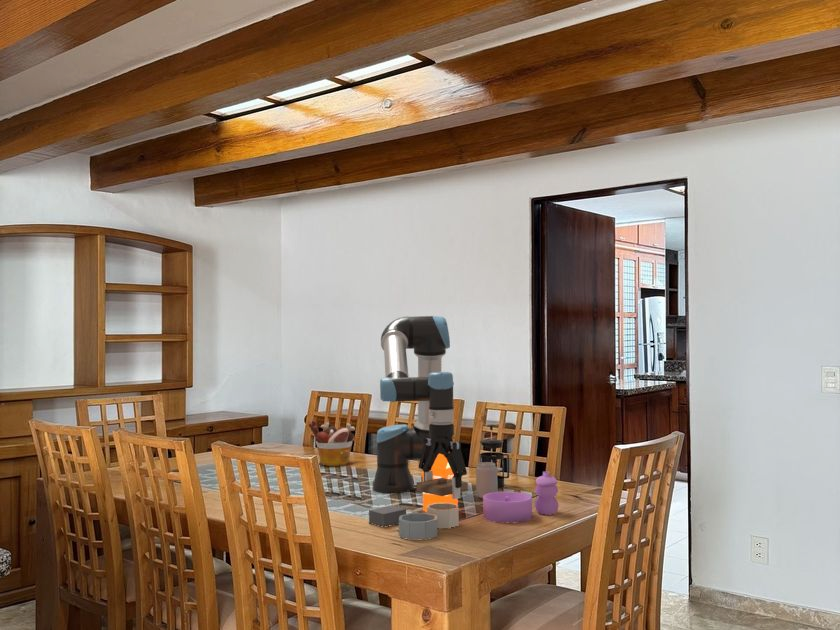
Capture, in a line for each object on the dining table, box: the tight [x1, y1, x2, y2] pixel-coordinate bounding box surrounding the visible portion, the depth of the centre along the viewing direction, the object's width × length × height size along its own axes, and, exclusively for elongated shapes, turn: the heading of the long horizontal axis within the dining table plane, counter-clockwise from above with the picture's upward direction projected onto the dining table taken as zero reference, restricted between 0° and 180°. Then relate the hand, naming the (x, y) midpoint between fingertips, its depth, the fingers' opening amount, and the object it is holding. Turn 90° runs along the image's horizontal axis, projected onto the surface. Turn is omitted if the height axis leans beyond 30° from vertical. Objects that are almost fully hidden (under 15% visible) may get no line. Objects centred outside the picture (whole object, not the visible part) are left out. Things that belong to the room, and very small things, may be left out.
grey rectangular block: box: [368, 505, 407, 528], centre depth 238 cm, size 7×9×4 cm
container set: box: [482, 471, 560, 524], centre depth 245 cm, size 25×15×13 cm, turn 108°
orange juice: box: [422, 452, 459, 513], centre depth 253 cm, size 8×9×20 cm
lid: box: [416, 478, 469, 496], centre depth 235 cm, size 11×11×4 cm
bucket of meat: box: [308, 419, 356, 467], centre depth 341 cm, size 20×16×20 cm
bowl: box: [426, 503, 460, 529], centre depth 235 cm, size 10×10×6 cm
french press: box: [479, 424, 510, 489], centre depth 290 cm, size 12×9×23 cm
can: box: [475, 461, 499, 500], centre depth 271 cm, size 8×8×12 cm
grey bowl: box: [398, 512, 438, 541], centre depth 224 cm, size 11×11×5 cm
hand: (442, 495), depth 235 cm, fingers closed on lid, 11 cm apart
